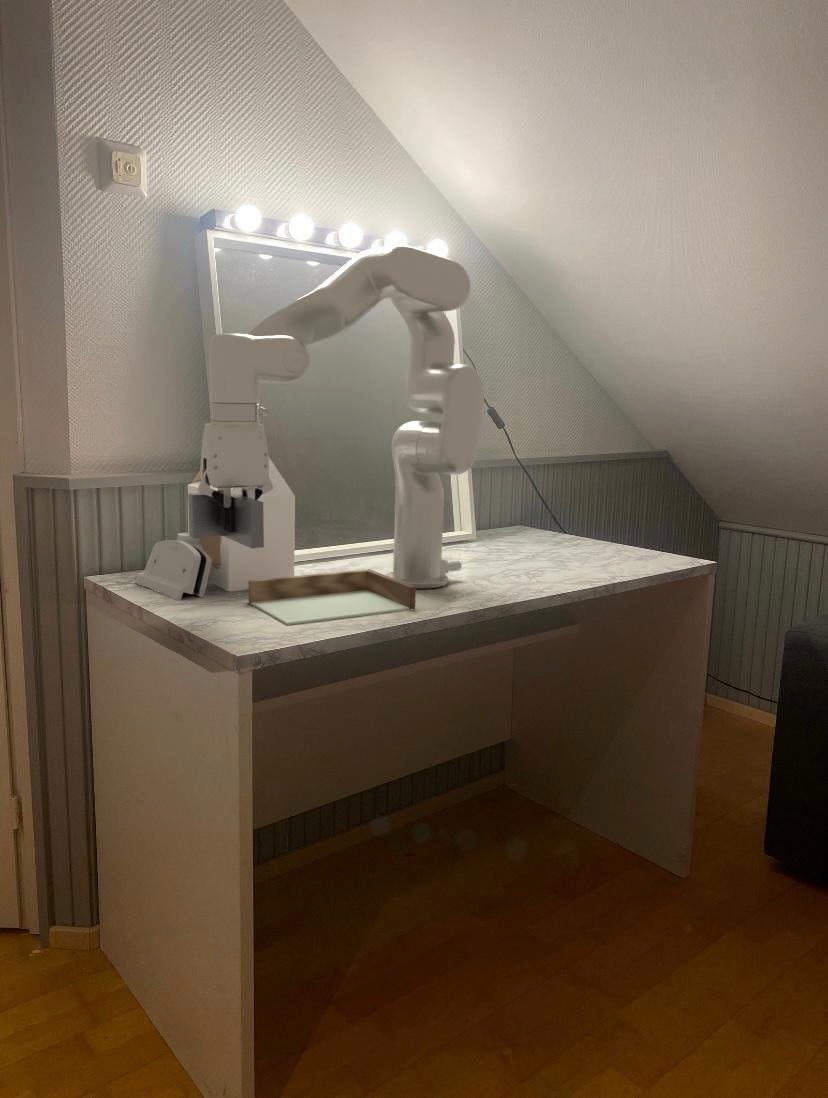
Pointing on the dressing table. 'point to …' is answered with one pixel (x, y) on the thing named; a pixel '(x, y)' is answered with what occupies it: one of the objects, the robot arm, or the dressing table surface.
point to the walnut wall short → (391, 589)
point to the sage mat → (328, 607)
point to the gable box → (255, 562)
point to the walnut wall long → (307, 585)
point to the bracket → (209, 519)
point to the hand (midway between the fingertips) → (236, 530)
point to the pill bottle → (189, 539)
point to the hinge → (176, 569)
